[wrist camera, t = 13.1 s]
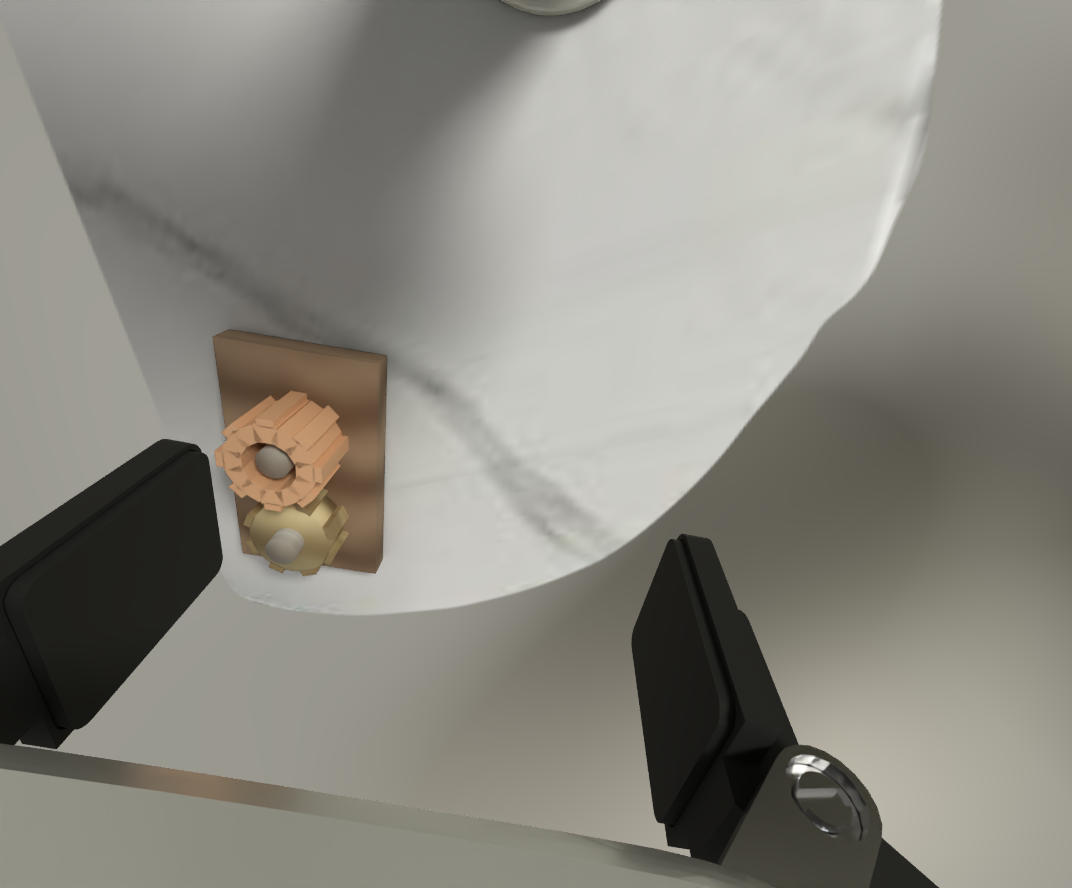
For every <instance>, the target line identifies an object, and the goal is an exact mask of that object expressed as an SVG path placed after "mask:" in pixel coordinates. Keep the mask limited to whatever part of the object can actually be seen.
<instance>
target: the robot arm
mask: <svg viewBox="0 0 1072 888" xmlns="http://www.w3.org/2000/svg"><path fill="white" fill-rule="evenodd" d="M500 1H502V2H504V3H506V4H508V5H510V6H512V7H514V8H516V9H518V10H520V11H524V12H529V13H533V14H537V15H564V14H568V13H572V12H576V11H580V10H583V9H585V8H587V7H589V6H591V5H593V4H595V3H597V2H599V1H601V0H537V1H535V0H500ZM222 560H223V555H222V548H221V541H220V534H219V527H218V520H217V513H216V507H215V500H214V493H213V486H212V479H211V472H210V465H209V460H208V457H207V455H206V454H204V453H202V452H201V449H200V448H199V447H198V446H197V445H195V444H191V443H185V442H180V441H175V440H169V439H162V440H160V441H157V442H156V443H154V444H153V445H152V446H150V447H149V448H147V449H145V450H144V451H142V452H141V453H139V454H138V455H136V456H135V457H133V458H132V459H130V460H129V461H127V462H126V463H124V464H123V465H121V466H120V467H118V468H117V469H115V470H114V471H113V472H111V473H109V474H108V475H106V476H105V477H103V478H102V479H100V480H99V481H97V482H96V483H94V484H93V485H91V486H90V487H88V488H87V489H85V490H84V491H83V492H81V493H79V494H78V495H76V496H75V497H73V498H72V499H70V500H69V501H67V502H66V503H64V504H63V505H61V506H60V507H58V508H57V509H55V510H54V511H53V512H51V513H49V514H48V515H46V516H45V517H44V518H42V519H40V520H39V521H37V522H36V523H34V524H33V525H31V526H30V527H28V528H27V529H25V530H24V531H22V532H21V533H19V534H18V535H16V536H15V537H13V538H12V539H10V540H9V541H7V542H6V543H4V544H3V545H2V546H0V888H939V887H938V886H936V885H935V884H934V883H933V882H932V881H931V880H929V879H928V878H927V877H926V876H925V875H924V874H923V873H921V872H920V871H919V870H918V869H917V868H916V867H915V866H913V865H912V864H911V863H910V862H909V861H908V860H907V859H905V858H904V857H903V856H902V855H901V854H900V853H898V852H897V851H896V850H895V849H894V848H893V847H892V846H891V845H889V844H888V843H887V842H886V841H885V840H884V839H883V838H882V822H881V818H880V815H879V811H878V808H877V806H876V804H875V802H874V800H873V799H872V797H871V795H870V793H869V791H868V790H867V789H866V787H865V786H864V785H863V784H862V782H861V781H860V780H859V779H858V778H857V776H856V775H855V774H854V773H853V772H852V771H851V770H850V769H849V768H847V767H846V766H845V765H844V764H843V763H842V762H841V761H839V760H838V759H836V758H834V757H833V756H831V755H830V754H828V753H827V752H825V751H823V750H820V749H817V748H815V747H812V746H809V745H799V744H798V742H797V739H796V737H795V734H794V732H793V729H792V727H791V725H790V722H789V719H788V717H787V715H786V712H785V709H784V708H783V705H782V702H781V699H780V697H779V694H778V692H777V690H776V687H775V685H774V682H773V680H772V677H771V675H770V672H769V670H768V667H767V665H766V662H765V660H764V657H763V655H762V652H761V650H760V647H759V645H758V642H757V640H756V637H755V635H754V632H753V630H752V627H751V625H750V622H749V620H748V618H747V617H746V615H745V614H744V613H743V612H742V611H741V610H738V608H737V605H736V603H735V600H734V598H733V595H732V593H731V590H730V587H729V585H728V583H727V580H726V577H725V574H724V572H723V569H722V567H721V564H720V561H719V559H718V556H717V554H716V551H715V549H714V546H713V544H712V542H711V540H710V539H708V538H703V537H697V536H692V535H686V534H681V535H680V536H679V537H678V538H677V540H674V539H670V540H669V542H668V543H667V546H666V548H665V551H664V553H663V556H662V558H661V561H660V563H659V566H658V568H657V571H656V573H655V576H654V578H653V581H652V583H651V586H650V588H649V591H648V594H647V596H646V599H645V601H644V604H643V606H642V609H641V611H640V614H639V616H638V619H637V621H636V624H635V626H634V630H633V634H632V653H633V660H634V667H635V675H636V683H637V690H638V698H639V705H640V712H641V720H642V727H643V735H644V742H645V750H646V757H647V765H648V772H649V779H650V787H651V794H652V802H653V809H654V814H655V818H656V820H657V822H658V823H664V824H665V830H666V837H667V843H668V846H671V847H677V848H683V849H690V854H691V857H688V856H684V855H680V854H675V853H671V852H667V851H663V850H659V849H654V848H648V847H643V846H638V845H632V844H627V843H622V842H616V841H611V840H605V839H600V838H594V837H588V836H583V835H577V834H572V833H567V832H561V831H556V830H550V829H544V828H538V827H532V826H526V825H519V824H513V823H507V822H501V821H495V820H489V819H483V818H477V817H470V816H465V815H459V814H452V813H446V812H440V811H434V810H428V809H421V808H416V807H410V806H404V805H398V804H391V803H385V802H378V801H372V800H366V799H360V798H353V797H347V796H341V795H335V794H328V793H322V792H316V791H310V790H303V789H297V788H291V787H284V786H278V785H271V784H265V783H258V782H253V781H246V780H239V779H233V778H227V777H221V776H214V775H208V774H202V773H195V772H188V771H182V770H175V769H169V768H162V767H156V766H149V765H142V764H136V763H130V762H123V761H117V760H110V759H103V758H97V757H90V756H83V755H77V754H70V753H64V752H57V751H51V750H44V749H37V748H30V747H22V746H14V745H15V744H16V742H17V741H18V740H19V739H20V740H21V742H22V744H27V745H33V746H40V747H47V748H52V749H57V748H58V747H59V746H60V745H61V744H62V743H63V741H64V740H65V739H66V738H67V737H68V736H69V735H70V733H71V732H72V731H73V730H74V729H80V728H82V727H83V726H85V725H86V724H88V722H90V720H92V718H93V717H94V716H95V715H96V714H97V713H98V712H99V710H100V709H101V708H102V707H103V706H104V705H105V703H106V702H107V701H108V700H109V699H110V697H111V696H112V695H113V694H114V693H115V691H117V690H118V688H119V687H120V686H121V685H122V684H123V683H124V681H125V680H126V679H127V678H128V677H129V676H130V674H131V673H132V672H133V671H134V670H135V669H136V667H137V666H138V665H139V664H140V663H141V662H142V661H143V659H144V658H145V657H146V656H147V655H148V654H149V652H150V651H151V650H152V649H153V648H154V647H155V645H156V644H157V643H158V642H159V641H160V640H161V639H162V637H163V636H164V635H165V634H166V633H167V631H168V630H169V629H170V628H171V627H172V626H173V624H174V623H175V622H176V621H177V620H178V618H179V617H181V615H182V614H183V613H184V612H185V611H186V609H187V608H188V607H189V606H190V605H191V604H192V603H193V601H194V600H195V599H196V598H197V597H198V596H199V594H200V593H201V592H202V591H203V590H204V589H205V587H206V586H207V585H208V584H209V583H210V582H211V581H212V579H213V578H214V577H215V576H216V575H217V573H218V572H219V570H220V567H221V565H222Z"/></svg>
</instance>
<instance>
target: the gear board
mask: <svg viewBox="0 0 1072 888" xmlns="http://www.w3.org/2000/svg"><path fill="white" fill-rule="evenodd" d="M213 343H214V350H215V357H216V364H217V371H218V379H219V386H220V393H221V400H222V407H223V415H224V422H225V429H226V428H227V427H228V426H229V425H230V424H232V423H233V422H234V421H236V420H237V419H239V418H240V417H241V416H243V415H244V414H245V413H247V412H248V411H250V410H251V409H252V408H254V407H255V406H257V405H258V404H259V403H261V402H262V401H264V400H265V399H266V398H268V397H269V396H270V395H271V396H272V397H273V398H274V399H275V400H276V401H277V400H280V399H281V398H282V397H284V396H285V395H286V394H288V393H289V392H290V391H295V392H301V393H307V400H310V401H313V402H314V403H316V404H317V405H319V406H320V407H321V408H323V409H324V408H325V407H326V406H328V405H329V406H330V407H331V408H332V409H333V410H334V411H335V413H336V414H337V415H338V416H339V418H338V419H337V420H336V421H335V422H336V423H337V425H338V427H339V428H340V430H341V433H342V436H348V439H349V450H348V451H347V453H346V454H345V455H344V456H343V458H342V459H341V460H340V461H339V462H338V464H339V465H340V467H339V469H338V470H337V471H336V472H335V474H334V475H333V476H332V477H331V479H330V480H329V481H328V482H327V484H326V485H325V486H324V487H323V489H322V490H321V491H320V493H319V494H318V495H317V496H316V498H315V499H314V500H313V501H311V502H310V503H309V504H307V505H306V506H304V507H303V508H302V507H301V506H300V505H299V504H298V503H294V504H291V505H288V506H286V507H285V508H284V509H283V510H282V511H281V512H279V511H273V510H267V509H265V508H264V503H261V502H258V501H256V500H255V499H253V498H251V497H250V496H248V495H246V496H244V497H243V498H241V497H240V496H239V495H238V494H237V493H235V492H234V494H235V501H236V508H237V515H238V522H239V530H240V537H241V544H242V551H243V553H246V554H253V555H259V556H263V557H264V558H265V559H266V560H268V561H269V562H271V563H270V565H269V567H270V568H272V569H275V570H277V571H279V572H281V573H283V571H284V570H285V569H287V570H292V571H300V572H301V574H302V576H307V575H313V574H316V573H317V571H318V570H319V568H320V567H321V565H323V566H330V567H336V568H343V569H349V570H355V571H362V572H368V573H375V574H376V572H377V570H378V568H379V566H380V564H381V562H382V559H383V520H384V474H385V428H386V382H387V356H386V355H380V354H374V353H368V352H362V351H356V350H350V349H344V348H338V347H332V346H326V345H320V344H314V343H308V342H302V341H296V340H290V339H284V338H278V337H272V336H266V335H260V334H254V333H248V332H242V331H236V330H230V329H229V330H226V331H224V332H222V333H219V334H217V335H215V336H213ZM255 464H256V466H257V468H258V469H259V471H260V472H261V473H263V474H264V475H266V476H268V477H270V478H275V479H278V478H282V477H284V476H285V475H287V473H288V472H289V471H290V470H291V469H292V468H293V467H294V466H295V464H294V463H293V461H292V460H291V458H290V457H289V455H288V454H287V453H286V452H285V451H283V450H282V449H280V448H278V447H277V446H275V445H273V444H267V445H266V446H265V447H264V448H262V449H261V450H260V451H259V452H258V453H257V454H256V456H255Z"/></svg>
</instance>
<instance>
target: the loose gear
mask: <svg viewBox="0 0 1072 888" xmlns="http://www.w3.org/2000/svg"><path fill="white" fill-rule="evenodd" d="M338 418H339V416H338V415H337V414H336V413H335V411H334V410H333V409H332V408H331V407H330V406H329V405H328V406H326V407H325V408H324V409H323V408H321V407H320V406H319V405H317V404H316V403H314V402H313V401H310V400H307V393H301V392H295V391H290V392H289V393H288V394H286V395H285V396H284V397H282V398H281V399H280V400H277V401H276V400H275V399H274V398H273V397H272V396H271V395H270V396H269V397H268V398H266V399H265V400H264V401H262V402H261V403H259V404H258V405H257V406H255V407H254V408H252V409H251V410H250V411H248V412H247V413H245V414H244V415H243V416H241V417H240V418H239V419H237V420H236V421H234V422H233V423H232V424H230V425H229V426H228V427H227V428H226V429H224V430H223V431H222V432H221V433H222V434H223V435H225V436H226V437H227V440H226V442H225V443H224V444H223V445H222V446H220V447H219V448H218V449H216V450H215V451H214V452H215V459H216V465H217V466H220V467H224V470H225V472H226V473H227V475H228V476H229V477H230V479H231V480H232V481H233V483H232V484H231V485H230V486H229V487H230V488H231V489H232V490H233V491H234V492H235V493H237V494H238V495H239V496H240V497H241V498H243V497H244V496H246V495H248V496H250V497H251V498H253V499H255V500H256V501H258V502H261V503H264V508H265V509H267V510H273V511H279V512H281V511H282V510H283V509H284V508H285V507H286V506H288V505H291V504H294V503H298V504H299V505H300V506H301V507H302V508H303V507H304V506H306V505H307V504H309V503H310V502H311V501H313V500H314V499H315V498H316V496H317V495H318V494H319V493H320V491H321V490H322V489H323V487H324V486H325V485H326V484H327V482H328V481H329V480H330V479H331V477H332V476H333V475H334V474H335V472H336V471H337V470H338V469H339V467H340V465H339V464H338V462H339V461H340V460H341V459H342V458H343V456H344V455H345V454H346V453H347V451H348V450H349V439H348V436H342V433H341V430H340V428H339V427H338V425H337V423H336V422H335V421H336V420H337V419H338ZM267 444H273V445H275V446H277V447H278V448H280V449H282V450H283V451H285V452H286V453H287V454H288V455H289V457H290V458H291V460H292V461H293V463H294V464H295V466H294V467H293V468H292V469H291V470H290V471H289V472H288V473H287V475H285V476H284V477H282V478H278V479H275V478H270V477H268V476H266V475H264V474H263V473H261V472H260V471H259V469H258V468H257V466H256V464H255V456H256V454H257V453H258V452H259V451H260V450H261V449H262V448H264V447H265V446H266V445H267Z"/></svg>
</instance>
